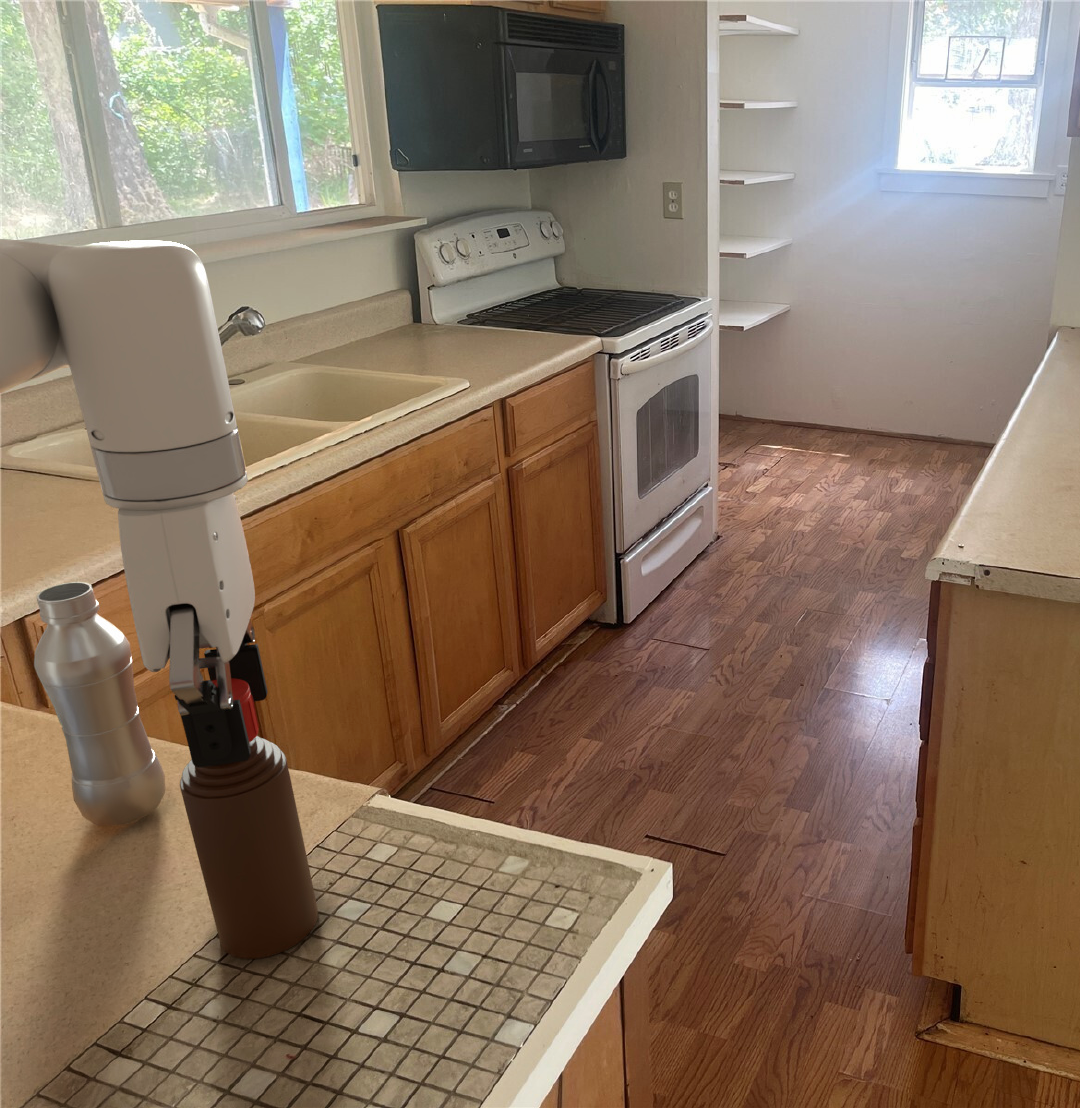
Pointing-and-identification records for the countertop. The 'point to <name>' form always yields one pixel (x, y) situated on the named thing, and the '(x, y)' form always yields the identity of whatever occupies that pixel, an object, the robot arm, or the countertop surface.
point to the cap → (245, 706)
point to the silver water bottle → (96, 708)
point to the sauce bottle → (251, 851)
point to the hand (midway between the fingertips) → (233, 728)
